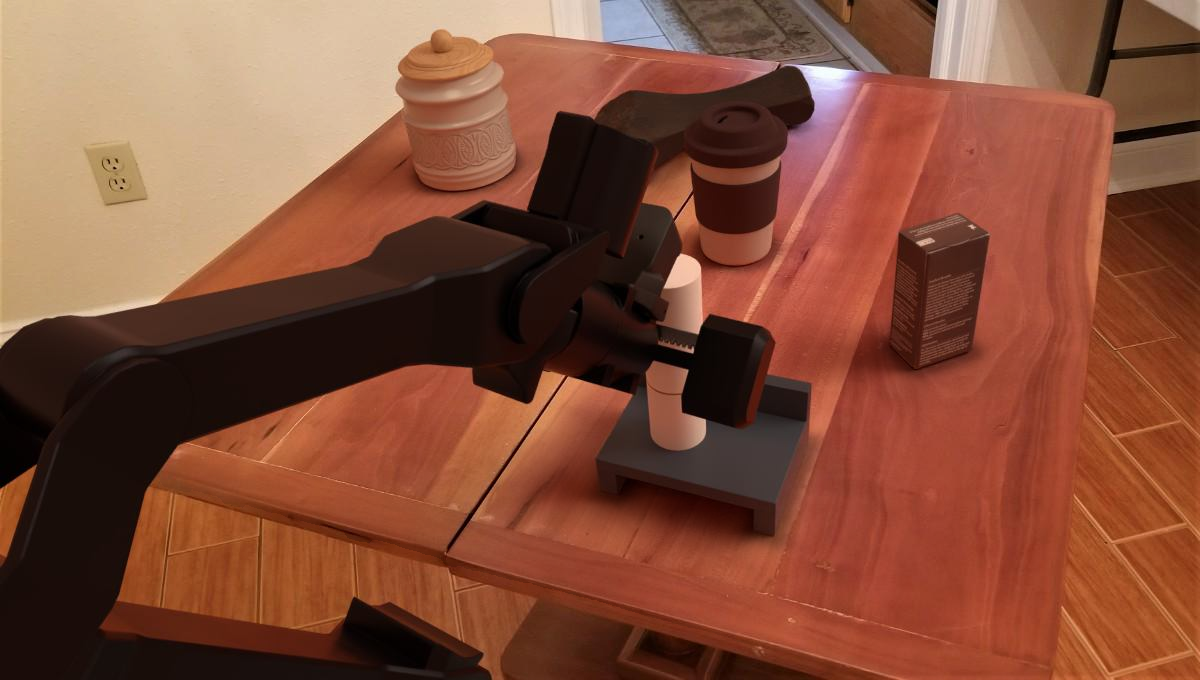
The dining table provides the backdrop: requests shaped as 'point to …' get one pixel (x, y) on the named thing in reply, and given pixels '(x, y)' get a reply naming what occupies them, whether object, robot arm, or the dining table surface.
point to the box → (937, 289)
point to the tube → (668, 380)
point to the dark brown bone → (704, 108)
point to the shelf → (718, 453)
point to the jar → (456, 113)
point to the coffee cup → (735, 179)
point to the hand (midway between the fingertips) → (665, 361)
